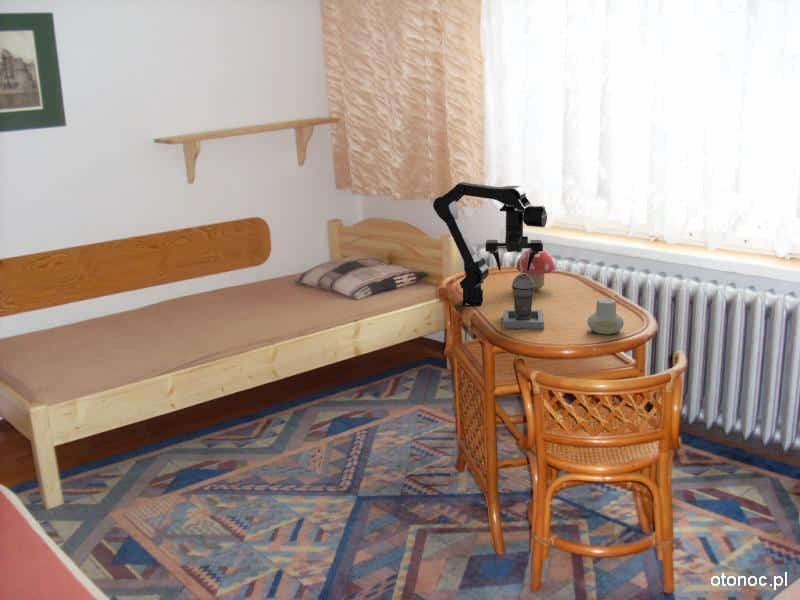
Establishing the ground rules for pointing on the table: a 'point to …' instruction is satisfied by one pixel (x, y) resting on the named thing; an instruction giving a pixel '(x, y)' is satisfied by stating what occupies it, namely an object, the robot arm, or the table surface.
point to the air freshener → (605, 317)
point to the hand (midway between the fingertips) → (513, 270)
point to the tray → (533, 323)
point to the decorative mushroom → (536, 267)
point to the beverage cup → (523, 295)
